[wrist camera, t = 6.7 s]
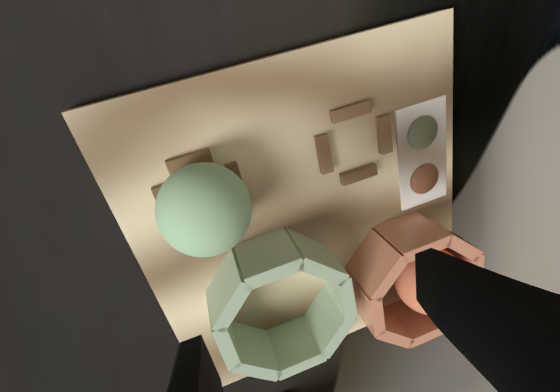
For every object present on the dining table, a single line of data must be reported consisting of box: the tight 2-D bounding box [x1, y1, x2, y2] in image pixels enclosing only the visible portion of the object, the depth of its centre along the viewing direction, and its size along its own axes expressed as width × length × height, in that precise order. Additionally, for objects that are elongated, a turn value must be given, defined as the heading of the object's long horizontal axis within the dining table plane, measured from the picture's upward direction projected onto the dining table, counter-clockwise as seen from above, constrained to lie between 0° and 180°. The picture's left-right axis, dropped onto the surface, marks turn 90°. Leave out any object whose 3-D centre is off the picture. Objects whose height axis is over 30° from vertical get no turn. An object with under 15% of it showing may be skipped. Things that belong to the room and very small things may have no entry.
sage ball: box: [155, 162, 252, 257], centre depth 14 cm, size 4×4×4 cm
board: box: [62, 8, 453, 387], centre depth 19 cm, size 18×18×1 cm
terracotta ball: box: [394, 249, 455, 315], centre depth 20 cm, size 4×4×4 cm
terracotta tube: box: [345, 211, 485, 349], centre depth 20 cm, size 7×7×3 cm
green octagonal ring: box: [206, 228, 358, 381], centre depth 18 cm, size 7×7×3 cm
